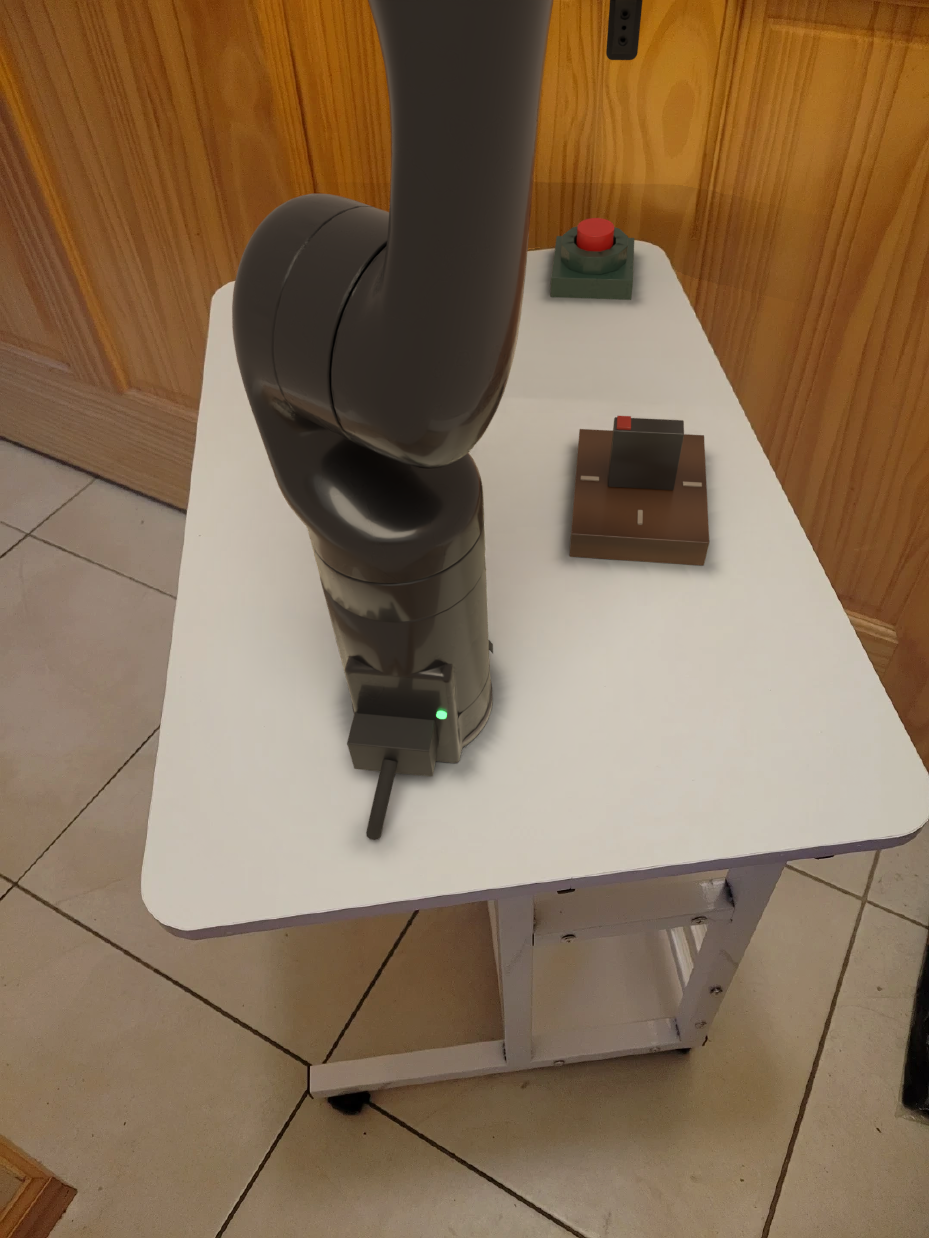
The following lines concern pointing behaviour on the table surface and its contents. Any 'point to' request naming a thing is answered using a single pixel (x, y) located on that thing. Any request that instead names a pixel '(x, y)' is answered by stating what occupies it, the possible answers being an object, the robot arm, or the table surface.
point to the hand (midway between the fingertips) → (621, 55)
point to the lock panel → (639, 508)
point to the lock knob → (645, 453)
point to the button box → (593, 269)
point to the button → (595, 234)
